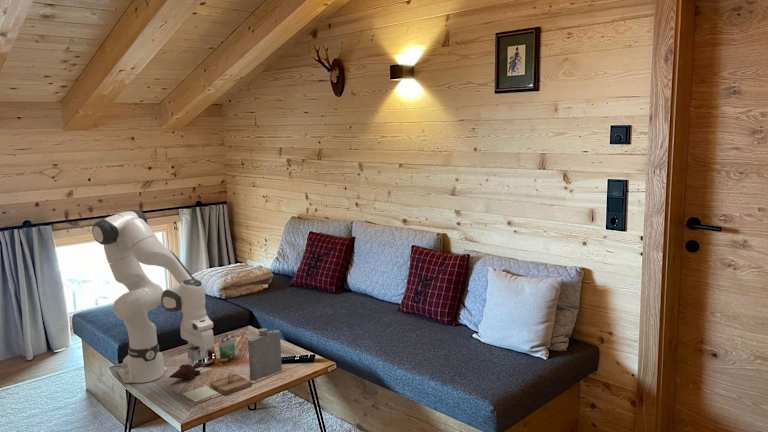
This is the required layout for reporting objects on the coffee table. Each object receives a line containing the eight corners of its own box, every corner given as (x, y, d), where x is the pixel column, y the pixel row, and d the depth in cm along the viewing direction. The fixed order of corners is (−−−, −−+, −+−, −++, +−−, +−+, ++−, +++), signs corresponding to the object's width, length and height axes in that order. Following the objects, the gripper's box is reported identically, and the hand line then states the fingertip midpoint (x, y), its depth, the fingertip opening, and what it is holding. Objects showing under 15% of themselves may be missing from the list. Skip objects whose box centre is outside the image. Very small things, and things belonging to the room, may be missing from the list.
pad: (183, 394, 242) (183, 393, 242) (205, 386, 249) (205, 385, 249) (195, 402, 235) (195, 401, 235) (218, 393, 242) (218, 392, 242)
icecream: (175, 373, 247) (207, 365, 258) (166, 365, 251) (197, 356, 263) (173, 388, 249) (204, 379, 260) (163, 379, 253) (195, 371, 264)
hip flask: (253, 381, 253) (250, 335, 250) (247, 378, 256) (244, 333, 252) (283, 369, 264) (281, 325, 261) (277, 366, 267) (275, 323, 264)
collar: (187, 357, 239) (187, 348, 239) (200, 353, 243) (200, 344, 243) (194, 361, 236) (194, 351, 235) (207, 357, 239) (207, 347, 239)
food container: (233, 363, 272) (232, 342, 270) (219, 364, 272) (218, 342, 270) (240, 353, 284) (238, 333, 283) (227, 353, 284) (225, 333, 283)
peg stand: (210, 387, 248) (209, 373, 247) (235, 378, 256) (235, 364, 256) (225, 395, 240) (224, 381, 239) (251, 386, 248) (250, 372, 247)
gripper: (175, 317, 242) (177, 349, 244) (200, 328, 228) (203, 363, 230) (189, 313, 246) (192, 345, 249) (215, 324, 232) (218, 358, 234)
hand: (197, 354), depth 239 cm, fingers closed on collar, 6 cm apart
